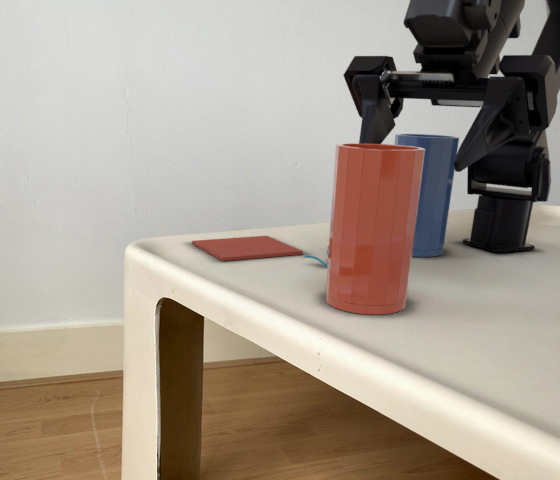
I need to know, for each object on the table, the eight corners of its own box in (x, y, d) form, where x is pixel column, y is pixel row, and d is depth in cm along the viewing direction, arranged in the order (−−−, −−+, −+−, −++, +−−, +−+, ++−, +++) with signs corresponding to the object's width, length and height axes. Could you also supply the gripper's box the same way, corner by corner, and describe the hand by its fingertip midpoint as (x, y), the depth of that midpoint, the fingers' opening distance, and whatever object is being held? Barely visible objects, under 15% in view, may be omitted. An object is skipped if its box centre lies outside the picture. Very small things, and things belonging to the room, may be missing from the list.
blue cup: (417, 242, 80) (430, 134, 75) (455, 254, 75) (472, 138, 70) (372, 246, 77) (383, 133, 72) (408, 259, 72) (423, 137, 67)
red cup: (374, 288, 60) (388, 143, 55) (422, 309, 54) (443, 150, 49) (311, 295, 57) (320, 143, 52) (355, 318, 51) (370, 150, 46)
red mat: (266, 238, 79) (267, 235, 79) (302, 254, 72) (302, 250, 72) (191, 244, 75) (191, 240, 74) (222, 261, 67) (222, 257, 67)
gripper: (363, -43, 57) (283, 85, 53) (579, -66, 47) (500, 91, 43) (395, 60, 66) (328, 176, 62) (582, 60, 56) (517, 199, 52)
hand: (406, 163), depth 55 cm, fingers open, 9 cm apart
